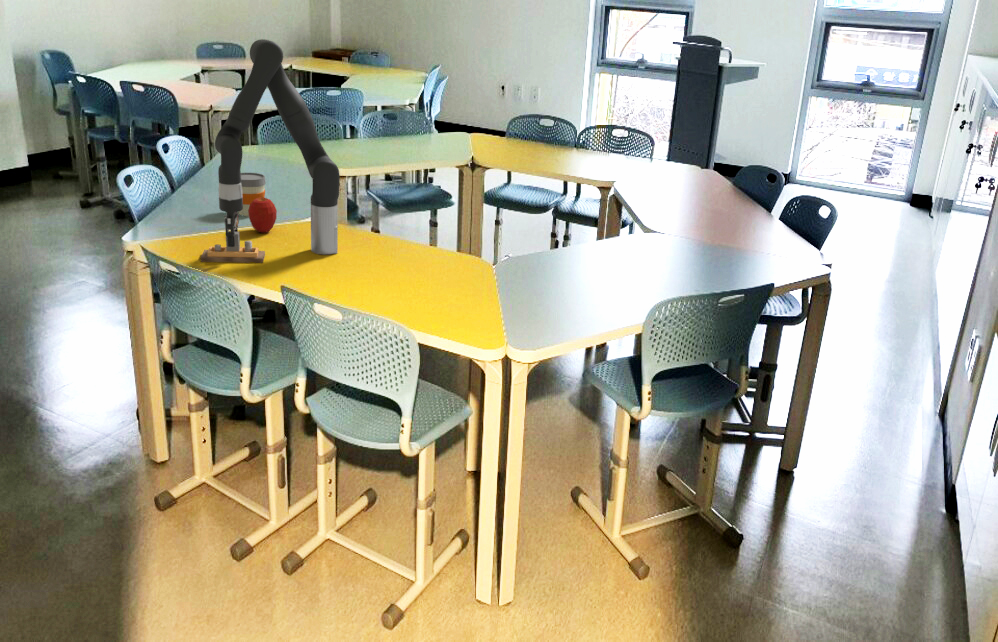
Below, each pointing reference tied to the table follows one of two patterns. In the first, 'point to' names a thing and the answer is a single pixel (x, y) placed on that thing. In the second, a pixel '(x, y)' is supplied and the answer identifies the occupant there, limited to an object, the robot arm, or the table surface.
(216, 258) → the pin board
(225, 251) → the hole bar
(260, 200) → the apple
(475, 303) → the table surface
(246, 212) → the reusable coffee cup
